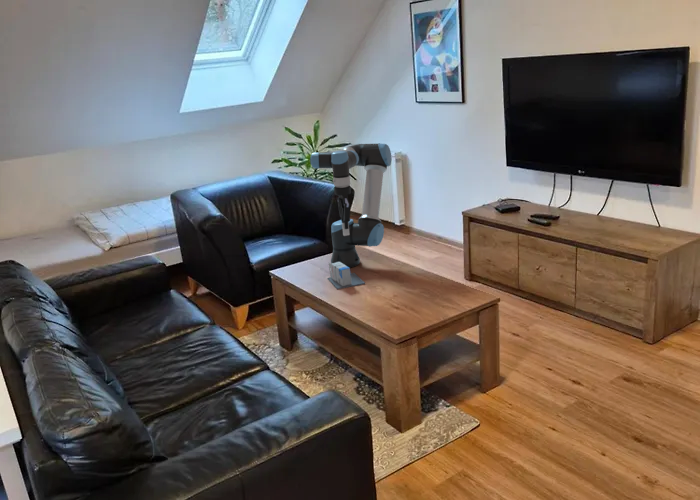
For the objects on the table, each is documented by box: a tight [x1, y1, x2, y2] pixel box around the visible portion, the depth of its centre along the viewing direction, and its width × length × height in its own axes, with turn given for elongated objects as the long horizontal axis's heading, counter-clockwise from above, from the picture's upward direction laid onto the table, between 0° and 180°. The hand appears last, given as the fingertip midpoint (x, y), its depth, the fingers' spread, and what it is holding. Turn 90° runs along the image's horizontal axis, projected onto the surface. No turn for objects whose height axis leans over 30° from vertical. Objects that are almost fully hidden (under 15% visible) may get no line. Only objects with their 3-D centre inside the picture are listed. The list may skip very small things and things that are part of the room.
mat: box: [326, 272, 366, 290], centre depth 308 cm, size 16×14×1 cm
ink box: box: [328, 262, 352, 286], centre depth 306 cm, size 8×5×15 cm
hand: (346, 235), depth 296 cm, fingers closed
